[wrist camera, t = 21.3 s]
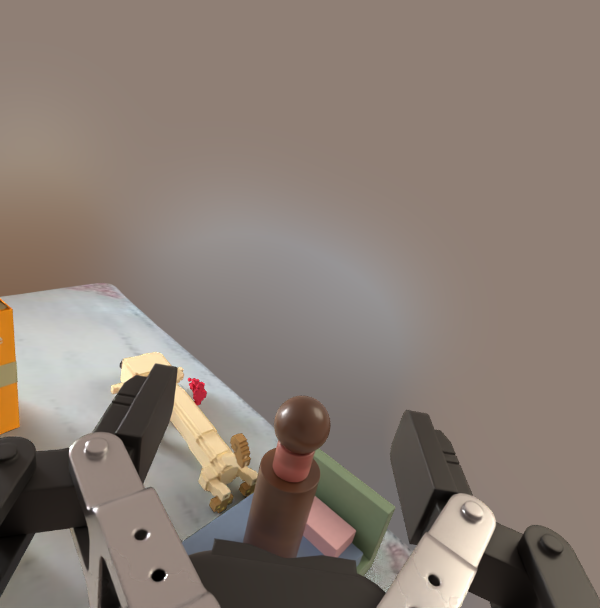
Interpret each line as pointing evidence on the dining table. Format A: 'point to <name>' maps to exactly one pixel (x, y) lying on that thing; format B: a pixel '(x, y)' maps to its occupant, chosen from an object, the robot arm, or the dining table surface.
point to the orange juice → (8, 372)
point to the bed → (354, 506)
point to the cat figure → (200, 435)
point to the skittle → (288, 478)
